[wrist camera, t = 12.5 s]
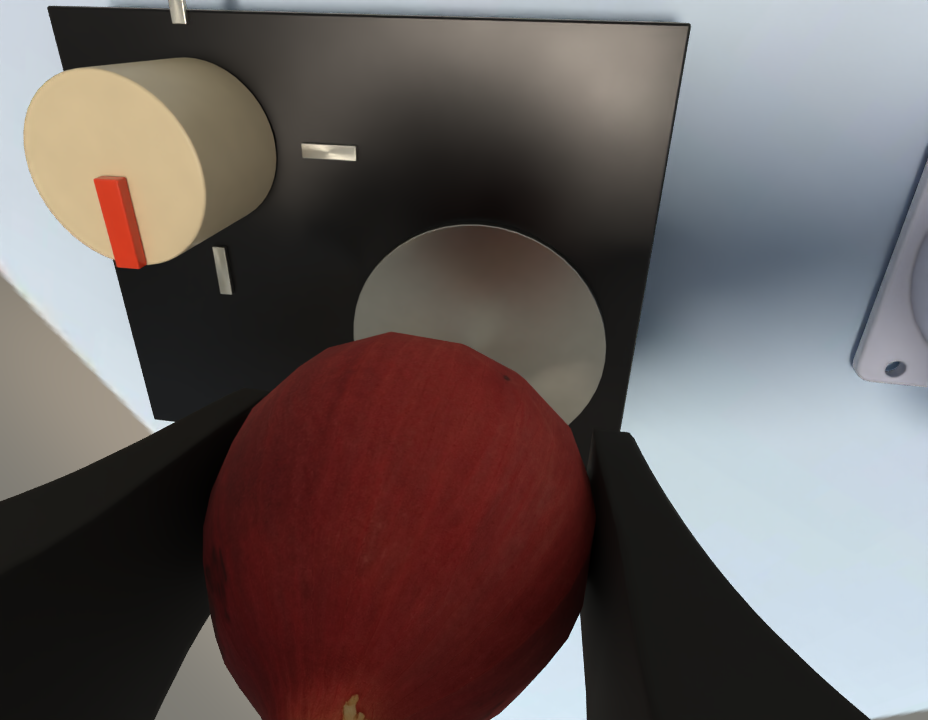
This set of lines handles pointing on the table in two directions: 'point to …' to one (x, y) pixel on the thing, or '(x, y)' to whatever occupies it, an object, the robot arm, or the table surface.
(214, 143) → the knob
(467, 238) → the burner
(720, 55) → the table surface
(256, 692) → the onion
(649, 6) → the table surface
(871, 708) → the table surface
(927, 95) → the table surface
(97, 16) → the hob
